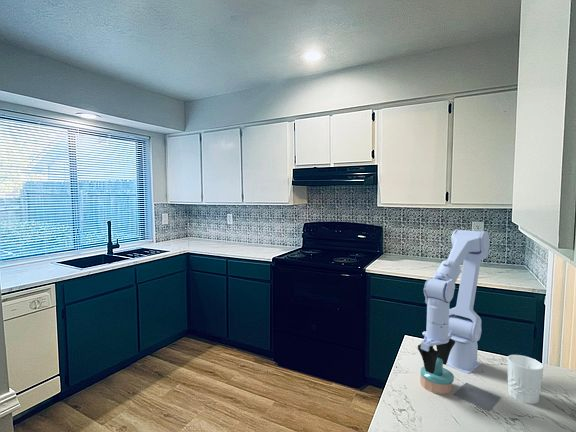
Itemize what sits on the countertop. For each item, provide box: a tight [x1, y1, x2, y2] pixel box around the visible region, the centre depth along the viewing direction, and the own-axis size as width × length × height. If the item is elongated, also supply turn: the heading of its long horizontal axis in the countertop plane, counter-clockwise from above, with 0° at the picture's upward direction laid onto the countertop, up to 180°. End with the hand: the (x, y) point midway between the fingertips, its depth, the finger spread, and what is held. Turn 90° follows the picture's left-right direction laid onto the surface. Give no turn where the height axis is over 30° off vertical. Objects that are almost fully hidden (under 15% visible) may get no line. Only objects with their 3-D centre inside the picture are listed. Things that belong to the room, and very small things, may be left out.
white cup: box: [506, 354, 544, 405], centre depth 88 cm, size 8×8×10 cm
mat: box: [452, 382, 502, 412], centre depth 88 cm, size 9×9×1 cm
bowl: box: [419, 373, 453, 395], centre depth 93 cm, size 8×8×3 cm
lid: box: [420, 358, 455, 385], centre depth 92 cm, size 9×9×5 cm
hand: (436, 367), depth 92 cm, fingers open, 7 cm apart
